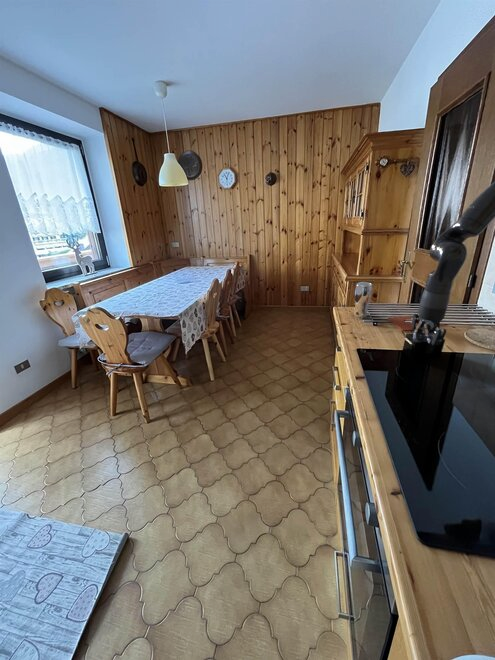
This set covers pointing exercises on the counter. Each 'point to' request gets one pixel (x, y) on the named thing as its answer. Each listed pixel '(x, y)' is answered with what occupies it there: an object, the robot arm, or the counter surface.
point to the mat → (402, 323)
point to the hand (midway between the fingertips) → (422, 347)
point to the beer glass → (362, 299)
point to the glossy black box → (420, 346)
